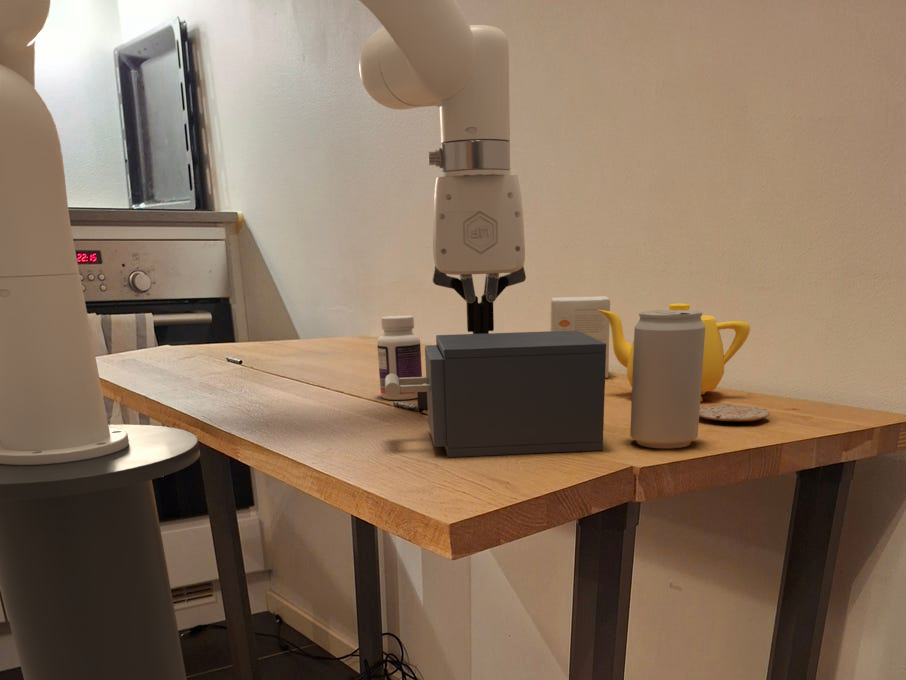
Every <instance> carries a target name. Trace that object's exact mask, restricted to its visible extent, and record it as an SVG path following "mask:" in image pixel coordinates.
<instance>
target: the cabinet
mask: <svg viewBox="0 0 906 680" xmlns="http://www.w3.org/2000/svg"><path fill="white" fill-rule="evenodd" d="M435 343H436V344H435V345H437V347H438V349H439V351H440V353H441V355H442V357H443V359H444V378H445V404H446V431H447V446H444V449H445V452H446V456H447V458H459V457H462V458H463V457H482V456H483V457H484V456H485V457H486V456H506V455H508V456H509V455H528V454H549V453H551V454H552V453H573V452H594V451H604V428H605V427H604V425H605V424H604V423H605V422H604V421H605V397H606V396H605V393H606V392H605V391H606V378H605V366H606V353H605V352H606V343H603V342H601V341H599V340H597V339H595V338H593V337H591V336H589V335H587V334H584V333H582V332H580V331H578V330H575V331H519V332H518V331H517V332H491V333H490V332H489V333H487V334H473V333H462V334H461V333H459V334H436V335H435Z"/></svg>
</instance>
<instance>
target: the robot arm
mask: <svg viewBox="0 0 906 680" xmlns="http://www.w3.org/2000/svg"><path fill="white" fill-rule="evenodd" d="M358 1H359V2H360V3H361V4H363V6H365V7H366V8H367V9H368V10H369V12H371V13H372V15H373V16H374V17H375V18H376V19H377V20H378V22H379V23H380V24H381V26H382V27H381V28H379V29H378V30H376V31H375V32H374V33H372V34H371V35H370V37H369V38H368V39H367V40H366V41H365V43H364V45H363V46H362V49H361V51H360V55H359V59H358V66H359V67H358V70H359V76H360V80H361V84H362V85H363V87H364V89H365V91H366V93H367V94H368V95H369V96H370V97H371V98H372V99H373V100H374V101H375V102H376V103H378V104H380V105H381V106H384V107H385V108H389V109H391V110H400V111H401V110H410V109H418V108H425V107H437V108H439V129H440V144H441V145H440V147H439V148H438V149H435V150H434V151H428V153H427V158H428V166H435V167H437V168H438V169H441V176H438V177H436V178H435V185H434V192H433V193H434V194H433V213H432V246H433V247H432V251H433V261H434V268H433V274H432V280H431V281H432V284H434V285H436V286H439V287H444V288H447V289H448V288H449V289H452V290H454V291H455V292H456V294H458V295H459V296H460V297H461V298H462V299H463V300H464V301H465V302H466V329H467V332H468V333H472V334H487V333H490V332H494V330H495V322H494V321H495V320H494V303H495V301H497V298H498V297H499V296H500V295H501V294H502V293H503V291H504V290H505V289H506V288H508V287H511V286H513V285H514V286H515V285H518V284H521V283H524V282H525V281H526V279H527V275H526V271H525V267H524V265H525V260H526V245H525V244H526V243H525V241H526V240H525V224H524V223H525V222H524V210H523V200H522V199H523V198H522V193H521V192H522V191H521V186H520V180H519V176H518V175H517V174H511V127H510V126H511V124H510V123H511V117H510V116H511V114H510V108H511V107H510V51H509V40H508V37H507V35H506V34H505V32H504V30H502V29H501V28H498V27H497V26H493V25H487V24H469V21H468V19H467V17H466V15H465V13H464V12H463V10H462V8H461V6H460V4H459V3H458V1H457V0H358ZM50 10H51V0H0V464H3V465H18V466H29V465H49V464H60V463H69V462H76V461H82V460H88V459H93V458H98V457H102V456H106V455H110V454H113V453H116V452H119V451H121V450H123V449H125V448H126V447H127V446H128V445H129V440H128V435H127V433H126V432H124V431H123V430H119V429H114V428H109V426H108V425H109V421H108V416H107V410H106V405H105V399H104V394H103V389H102V384H101V378H100V373H99V369H98V363H97V359H96V352H95V347H94V342H93V335H92V330H91V325H90V321H89V316H88V309H87V305H86V299H85V294H84V289H83V284H82V278H81V274H80V269H79V264H78V259H77V252H76V248H75V243H74V237H73V229H72V226H71V225H72V224H71V218H70V212H69V211H70V210H69V204H68V196H67V195H68V194H67V185H66V184H67V183H66V174H65V167H64V166H65V165H64V157H63V150H62V144H61V140H60V139H61V138H60V135H59V131H58V128H57V125H56V121H55V119H54V117H53V115H52V112H51V110H50V109H49V107H48V105H47V103H46V101H45V100H44V98H43V97H42V95H41V94H40V93H39V92H38V90H37V89H36V83H35V81H36V39H37V38H38V37H39V36H40V34H41V33H42V31H43V30H44V28H45V26H46V24H47V22H48V19H49V16H50ZM500 274H504V275H500ZM450 275H452V276H450ZM458 275H459V278H458V277H454V276H458ZM473 275H485V278H484V285H483V287H484V288H483V294H482V295H481V296H480V297H481V300H480V302H479V297H478V296H477V295H476V291H475V290H476V289H475V285H474V284H475V283H474V280H473V279H474V278H473Z"/></svg>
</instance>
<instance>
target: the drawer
mask: <svg viewBox="0 0 906 680" xmlns="http://www.w3.org/2000/svg"><path fill="white" fill-rule="evenodd" d="M424 357H425V358H424V360H425V376H422V377H407V378H398V376H397V375H395V374H388V375H387V376H386V378H385V392H386V394H387V395H388V396H389V397H391V398H395V397H397V396H398V395H399V394H400V392H401V393H406V392H427V405H428V409H427V422H428V428H429V431H430V436H431V439H432V443H433V447H436V448H437V447H438V448H439V447H441V448H442V447H445V446H447V431H446V404H445V378H444V359H443V357H442V355H441V353H440V351H439V349H438V347H437V345H436V344H433V345H432V344H431V345H424ZM406 384H422V385H406Z"/></svg>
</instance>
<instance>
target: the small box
mask: <svg viewBox="0 0 906 680" xmlns="http://www.w3.org/2000/svg"><path fill="white" fill-rule="evenodd" d="M598 309H599V310H605V311H610V312H611V299H610V298H609V297H607V296H605V295H602V296H599V295H598V296H597V295H596V296H567V297H566V296H565V297H563V296H562V297H551V298H550V329H549V330H550V331H575V330H578V331H580V332H582V333H584V334H587V335H589V336H591V337H593V338H595V339H597V340H599V341H601V342H603V343H606V352H605V353H606V366H605V379H608V378H609V368H610V367H609V361H610V360H609V359H610V328H611V325H610V322H609V320H608V319H607V317H606V316H605V315H604V314H602V313H601V312H600V311H599V310H598Z"/></svg>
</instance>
